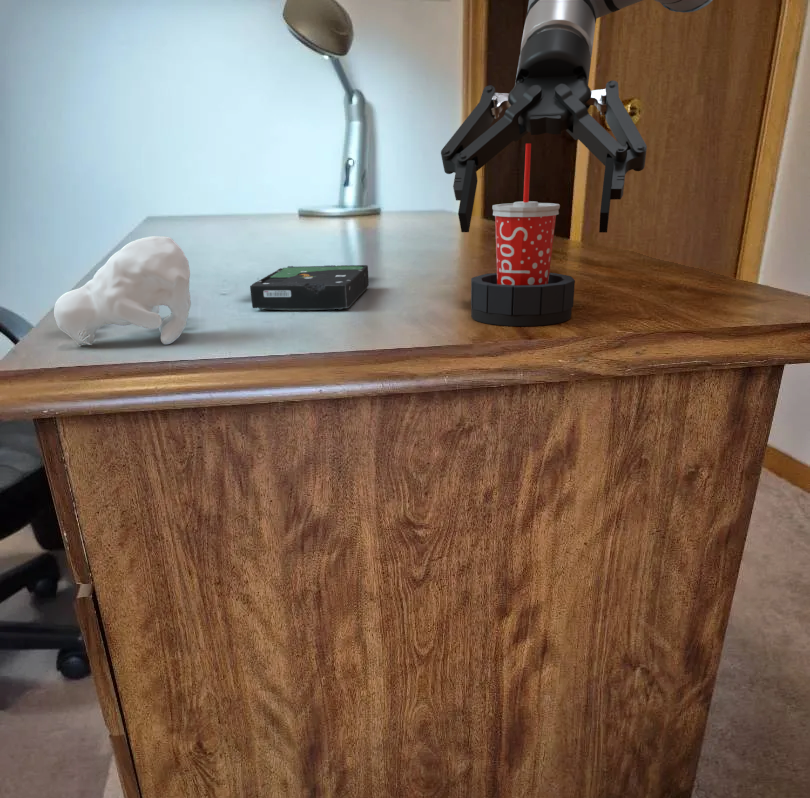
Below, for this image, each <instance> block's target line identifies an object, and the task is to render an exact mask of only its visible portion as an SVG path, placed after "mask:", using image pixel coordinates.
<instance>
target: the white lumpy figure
mask: <svg viewBox="0 0 810 798" xmlns="http://www.w3.org/2000/svg"><path fill="white" fill-rule="evenodd" d="M190 277H191V270H190V265H189V260H188V258H187V256H186V255H185V252H184V250H183V249H182V248H181V246H180V245H179V244H178V243H177V242H175V241H174V239H173V238H172V237H170V236H165V235H164V236H163V235H162V236H161V235H160V236H159V235H158V236H157V235H152V236H151V235H150V236H145V237H140V238H137V239H134V240H132V241H130V242H128V243H127V244H125V245H124V246H122V248H120V249H119V250H117V251H116V252H114V253H113V254H112V255H111V256H110V257H109V258H108V259H107V261H106V262H105V263H104V264H103V265H102V266H101V267H100V268H98V269H97V271H96V272H95V273H94V274H93V277H92V278H91V279H90V280H88V281H86V283H85V284H84V285H81V286H80V287H78V288H75V289H72V290H69V291H67V292H64V293H63V294H61V295H60V296H59V297H58V298H57V300H55V301H56V302H55V303H54V306H53V315H54V320H55V323H56V325H57V327H58V329H59V330H60V331H61V332H62V333H65V334H66V335H67V336H69V337H70V338H71V339H72V340H73V341H74V342H75V343H76V344H77V345H78V346H79V345H82V344H84V345H85V344H86V345H90V346H93V343H94V342H95V340H96V332H97V331H98V330H100V329H101V328H102V327H103V326H106V325H108V326H109V325H115V326H123V327H124V326H130V325H134V326H137V327H141V328H144V329H148V330H155V329H158V330H159V332H160V341H161V343H162V344H163V345H171V344H173V343H174V342H175V341H177V339H179V337H180V336H181V335H182V333H183V331H184V330H185V328H186V326H187V323H188V318H189V314H190V309H191V306H192V300H191V292H190V279H191V278H190ZM160 306H166V307H168V309H169V311H170V312H171V313H170V314H168V315H166V316H165V317H164V318H163V319H162V316H161V315H160V312H161V307H160ZM82 346H83V345H82Z"/></svg>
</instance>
